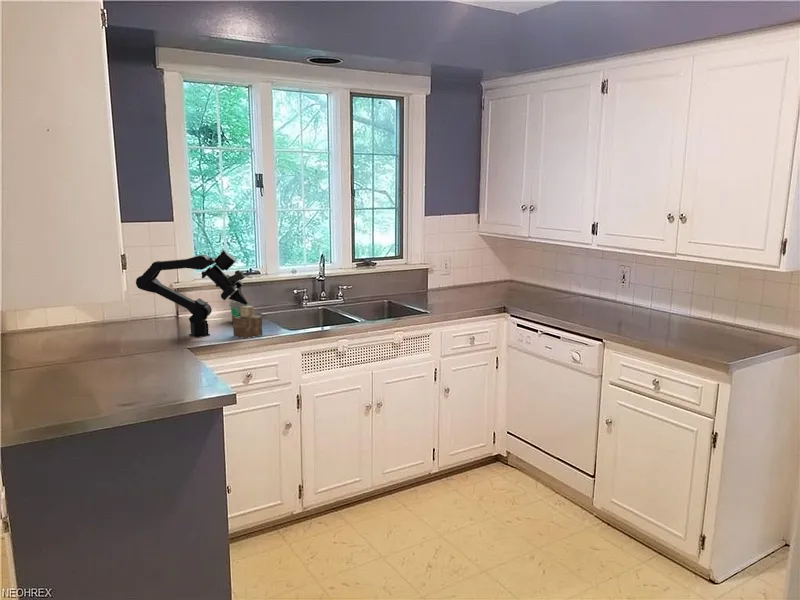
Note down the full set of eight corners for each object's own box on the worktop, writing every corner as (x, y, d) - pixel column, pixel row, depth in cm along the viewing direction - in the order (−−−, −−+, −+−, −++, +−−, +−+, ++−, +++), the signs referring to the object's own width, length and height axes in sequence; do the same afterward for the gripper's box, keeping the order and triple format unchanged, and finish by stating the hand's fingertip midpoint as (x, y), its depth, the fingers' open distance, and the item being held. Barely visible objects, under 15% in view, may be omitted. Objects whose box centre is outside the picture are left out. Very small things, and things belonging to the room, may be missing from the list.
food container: (224, 322, 289) (223, 301, 287) (233, 320, 294) (232, 299, 292) (244, 325, 283) (243, 304, 281) (253, 323, 288) (252, 302, 287)
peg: (246, 325, 259) (246, 307, 258) (240, 324, 262) (240, 306, 261) (254, 324, 262) (254, 306, 261) (248, 322, 265) (248, 305, 264)
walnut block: (244, 338, 257) (244, 320, 256) (233, 335, 262) (232, 317, 261) (262, 335, 264) (261, 316, 262) (251, 332, 269) (250, 314, 267)
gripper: (227, 267, 248) (256, 294, 251) (237, 262, 267) (263, 287, 269) (208, 286, 249) (237, 313, 252) (219, 280, 268) (246, 305, 270)
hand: (246, 304), depth 261 cm, fingers closed
